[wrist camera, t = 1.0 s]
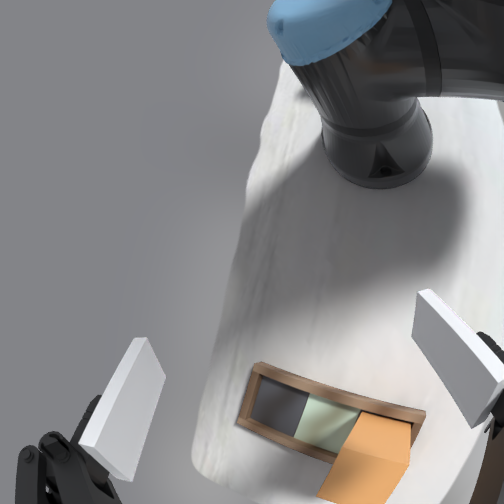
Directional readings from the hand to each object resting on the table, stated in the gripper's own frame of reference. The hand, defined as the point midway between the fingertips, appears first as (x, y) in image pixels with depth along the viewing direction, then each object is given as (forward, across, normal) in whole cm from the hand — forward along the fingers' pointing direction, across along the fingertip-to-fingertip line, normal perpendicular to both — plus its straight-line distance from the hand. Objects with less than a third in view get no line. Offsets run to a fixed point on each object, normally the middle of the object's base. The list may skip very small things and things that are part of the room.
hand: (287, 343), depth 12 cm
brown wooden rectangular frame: (+9, +3, -21) cm, 23 cm away
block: (+5, +8, -21) cm, 23 cm away
